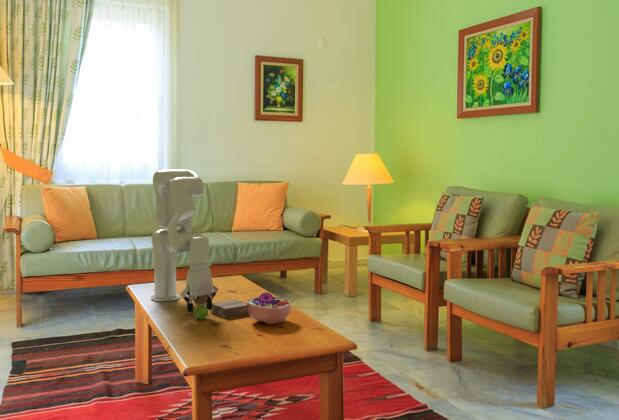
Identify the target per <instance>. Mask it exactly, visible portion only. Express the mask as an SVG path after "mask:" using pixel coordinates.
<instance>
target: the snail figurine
mask: <svg viewBox="0 0 619 420" xmlns="http://www.w3.org/2000/svg"><path fill="white" fill-rule="evenodd" d="M206 301H207V296H206V295H203V296H197V297H194V299H193V301H192V302H193V304H194V305H196V307H195V308H194V309H193V315H194V317H195V318H196V319H198V320H204V319H205V318H207V316H208V313H209V311H208V309H207V308H206V305H207V303H206Z"/></svg>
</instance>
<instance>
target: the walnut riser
mask: <svg viewBox="0 0 619 420" xmlns="http://www.w3.org/2000/svg"><path fill="white" fill-rule="evenodd" d="M210 313H211V314H213V315H216V316H218V317H221V318H223V319H226V320H227V319H232V318H237V317H238V318H239V317H244V316H250V315H249V313H248V306H247V303H246V301H245V302H244V301H241V300H239V299H230V300H225V301H224V300H223V301H218V302H212V309H211V310H210Z"/></svg>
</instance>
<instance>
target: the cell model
mask: <svg viewBox="0 0 619 420" xmlns="http://www.w3.org/2000/svg"><path fill="white" fill-rule="evenodd" d="M245 303H247V306H248V313H249V315H248V316H250V318H252V320H255V321H257V322H263V323H265V324H267V325H274V324H280V323H283V322H284V321H285V320H286V319H287V317H288V316H289V315H290V314H291V312H292V303H291V300H289V299H286V298H282V297H279V296H278V297H276V296H273V295H272V294H271V293H270V292H263V293H261V294H260V295H259V296H258V297H253V298H250V299H247V300H245Z"/></svg>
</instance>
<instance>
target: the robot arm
mask: <svg viewBox="0 0 619 420" xmlns="http://www.w3.org/2000/svg"><path fill="white" fill-rule="evenodd" d="M152 185H153V189H154V193H155V223H156V225H158V226H159V227H161V228H164V229H158V230H155V231H154V232H153V233H152V235H151V244H152V251H153V265H154V266H153V269H154V271H153V273H154V289H153V291H154V294H153V295H151V297H150V298H151V299H150V300H152V301H155V302H172V301H177V300H179V299H180V297H181V298H182V299H183V301H185V302H186V309H187V313H190V314H194V301H193V299H194V297H195V298H196V297H197V296H203V295H206V296H207V301H206V303H207V305H205V307H206V308H207V310H209V311H211V309H212V303H213V300H214V298H215V296H216V295H217V292H218V291H219V288H218V287H216V286H215V285H213V277H212V272H211V269H210V267H212V265H213V264H212V262H210V246H209V245H210V242H209V238H208V236H206V235H204V234H203V233H199V232H198V233H197V232H196V233H192V226H193V225H192V223H193V218H192V216H193V215H194V213H195V212H196V207H195V202H194V197H201V196H203V195H204V193H205V186H204V182H203V180H202V178H201V177H200V176H199V175H198V174H196V172H195V171H193V170H191V169H160V170H156V171H154V173H153V176H152ZM177 227H179V228H177ZM171 251H173V253H177V254H181V253H182V254H183V253H185V254H186V253H189V270H187V274H186V279H185V288H184V289H183V290H182V291H181V292H180V293H177V267H176V266H177V265H176V264H177V263H176V261H177V260H176V258H175V256H174V255H173V253H172V252H171Z"/></svg>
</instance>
